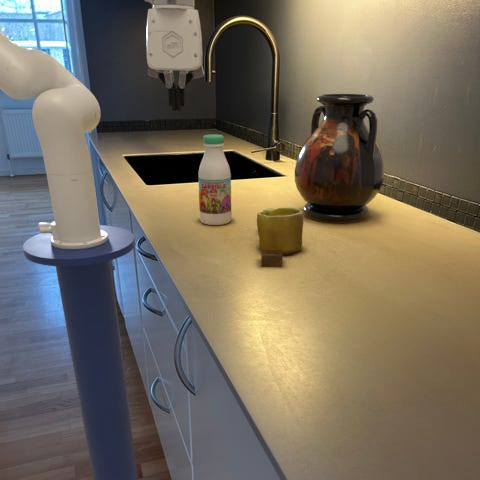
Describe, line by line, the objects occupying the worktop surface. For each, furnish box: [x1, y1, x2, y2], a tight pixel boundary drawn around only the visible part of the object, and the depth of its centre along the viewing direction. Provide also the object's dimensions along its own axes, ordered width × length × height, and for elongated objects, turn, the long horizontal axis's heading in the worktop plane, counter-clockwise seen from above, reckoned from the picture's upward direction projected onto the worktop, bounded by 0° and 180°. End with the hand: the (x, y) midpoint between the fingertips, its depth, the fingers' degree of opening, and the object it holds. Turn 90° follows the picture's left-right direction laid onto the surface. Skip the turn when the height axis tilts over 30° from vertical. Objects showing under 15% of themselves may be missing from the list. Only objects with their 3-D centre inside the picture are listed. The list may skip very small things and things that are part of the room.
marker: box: [260, 249, 284, 268], centre depth 98 cm, size 4×3×2 cm
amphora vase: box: [294, 93, 385, 224], centre depth 123 cm, size 22×22×28 cm
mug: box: [256, 207, 304, 255], centre depth 106 cm, size 12×10×10 cm
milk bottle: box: [198, 134, 232, 226], centre depth 121 cm, size 8×8×20 cm
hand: (177, 110), depth 101 cm, fingers closed
